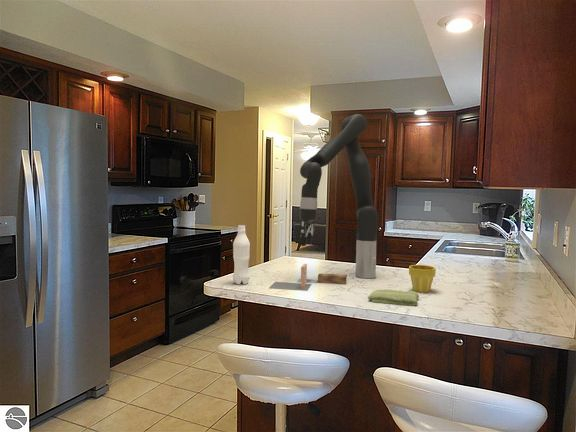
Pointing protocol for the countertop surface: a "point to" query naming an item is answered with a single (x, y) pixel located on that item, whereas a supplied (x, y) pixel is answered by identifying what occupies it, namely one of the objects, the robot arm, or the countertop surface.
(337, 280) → the board
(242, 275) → the water bottle
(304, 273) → the tile
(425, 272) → the plant pot
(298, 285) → the slate mat
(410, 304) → the washcloth
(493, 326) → the countertop surface
